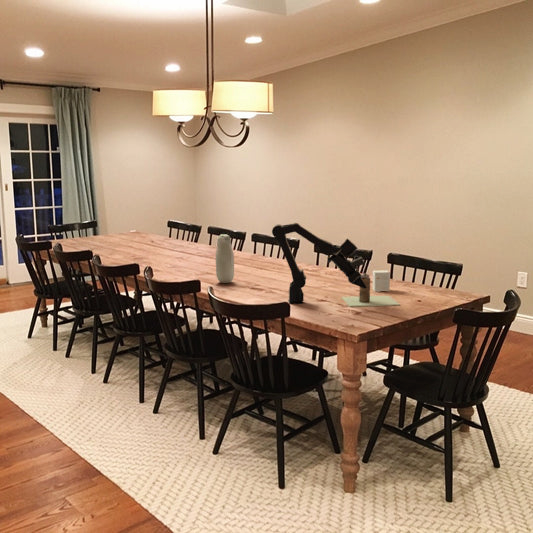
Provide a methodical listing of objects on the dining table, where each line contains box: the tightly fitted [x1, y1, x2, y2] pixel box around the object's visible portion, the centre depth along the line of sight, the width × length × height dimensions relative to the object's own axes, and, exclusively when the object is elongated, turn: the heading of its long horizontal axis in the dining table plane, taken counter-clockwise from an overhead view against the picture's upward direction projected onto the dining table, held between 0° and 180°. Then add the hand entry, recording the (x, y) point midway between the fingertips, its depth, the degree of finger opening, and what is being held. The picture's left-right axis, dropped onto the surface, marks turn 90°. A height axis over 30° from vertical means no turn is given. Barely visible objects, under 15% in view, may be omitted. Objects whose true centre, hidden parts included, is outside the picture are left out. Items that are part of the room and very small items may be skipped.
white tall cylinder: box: [214, 233, 235, 284], centre depth 313 cm, size 10×10×28 cm
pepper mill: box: [358, 272, 371, 303], centre depth 264 cm, size 5×5×14 cm
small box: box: [372, 269, 391, 293], centre depth 290 cm, size 8×6×10 cm
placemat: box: [341, 295, 400, 308], centre depth 267 cm, size 24×18×1 cm
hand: (365, 285), depth 263 cm, fingers open, 9 cm apart
